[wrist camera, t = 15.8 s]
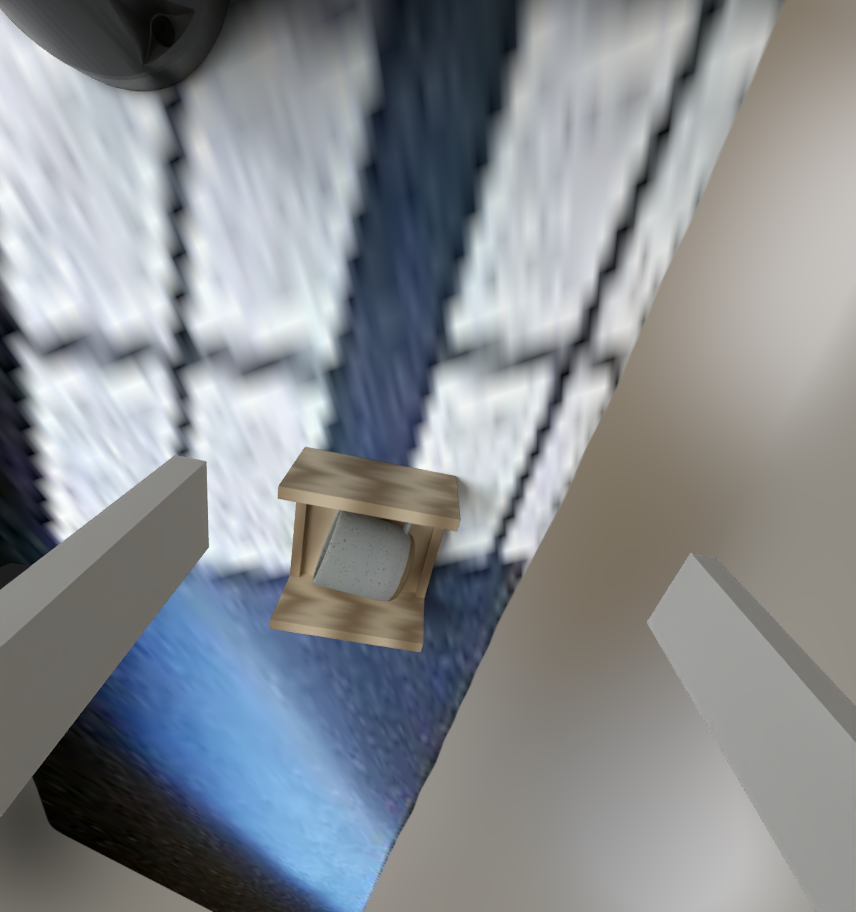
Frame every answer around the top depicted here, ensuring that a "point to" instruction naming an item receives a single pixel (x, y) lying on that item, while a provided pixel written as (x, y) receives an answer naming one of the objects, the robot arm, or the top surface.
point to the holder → (370, 493)
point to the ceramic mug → (365, 557)
